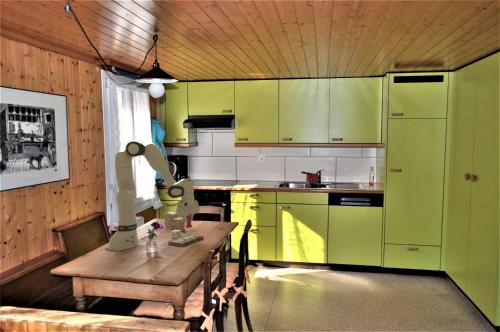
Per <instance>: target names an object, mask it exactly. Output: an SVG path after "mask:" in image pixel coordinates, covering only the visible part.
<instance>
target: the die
mask: <svg viewBox="0 0 500 332" xmlns="http://www.w3.org/2000/svg"><path fill="white" fill-rule="evenodd" d="M170 236H171V239H177V238H180V237H182V231H181V230H171V231H170Z"/></svg>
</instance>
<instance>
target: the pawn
mask: <svg viewBox="0 0 500 332" xmlns="http://www.w3.org/2000/svg"><path fill="white" fill-rule="evenodd" d="M187 220H188V222H185V223H186V225H185V228H186V229H190V228H193V225H192V221H191V213H190V214H189V215H188V216H187Z"/></svg>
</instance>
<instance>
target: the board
mask: <svg viewBox="0 0 500 332" xmlns="http://www.w3.org/2000/svg"><path fill="white" fill-rule="evenodd" d="M203 239H204V235H200V234H193V233H189V234H185V235H184V236H181V237H180V238H177V239H176V238H173V239H171V240H169V241H167V244H168V245H171V246H176V247H185V246H187V244H188V245H190V244H193V243H196V242H198V241H201V240H203Z"/></svg>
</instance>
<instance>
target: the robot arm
mask: <svg viewBox="0 0 500 332" xmlns="http://www.w3.org/2000/svg"><path fill="white" fill-rule="evenodd" d="M140 156H143V157H144V159H146V161H147V163H148V164H149V166H150V168H151V169H152V170H153V171H154V172H157V173H158V174H159V175H160V177H162V180H163V181H164V183H165V184H166V188H167V190H166V191H167V193H166V194H167V195H168V196H169V198H172V199H178V198H180V200H179V201H177V202H176V203H175V205H176V214H177V217H180V218H184V220H185V223H186V222H188V220H187V216H188V215H189V214H190V213H191V222H192V221H193V218H194V215H195V214H198V213H199V212H200V206H199V202H198V201H197V200H196V199H195V195H194V194H195V193H194V191H195V186H194V181H193V180H191V179H190V178H182V179H180V180H179V181H176V180H175V179H174V177H173V175H172V173H171V172H170V170H169V167H168V165H167V161H166V159H165V155H163V153H162V151H161V150H160V148H158V146H157V145H156V144H155V143H153V142H149V143H146V144H143V142H141V141H140V140H137V139H133V140H130V141H128V142H127V143H126V145H125V149H124V150H120V151H117V153H116V154H115V156H114V157H115V160H114V167H115V168H114V169H115V178H116V179H115V180H116V182H117V187H118V192H117V193H116V196H115V197H116V205H117V212H118V225H115V226H114V227H113V229H114V230H116V232H115V233H113V234H112V236H110V238H109V239H108V240H109V241H108V245H105V249H106V250H108V251H116V252H117V251H119V252H120V251H124V250H128V249H132V248H137V247H139V246H140V241H139V237H138V232H137V229H138V224H137V216H136V215H137V212H136V208H135V207H136V206H135V199H136V197H137V191H136V186H135V185H136V184H135V181H134V180H135V179H134V171H133V170H134V169H133V159H134V158H135V157H140Z"/></svg>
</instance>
